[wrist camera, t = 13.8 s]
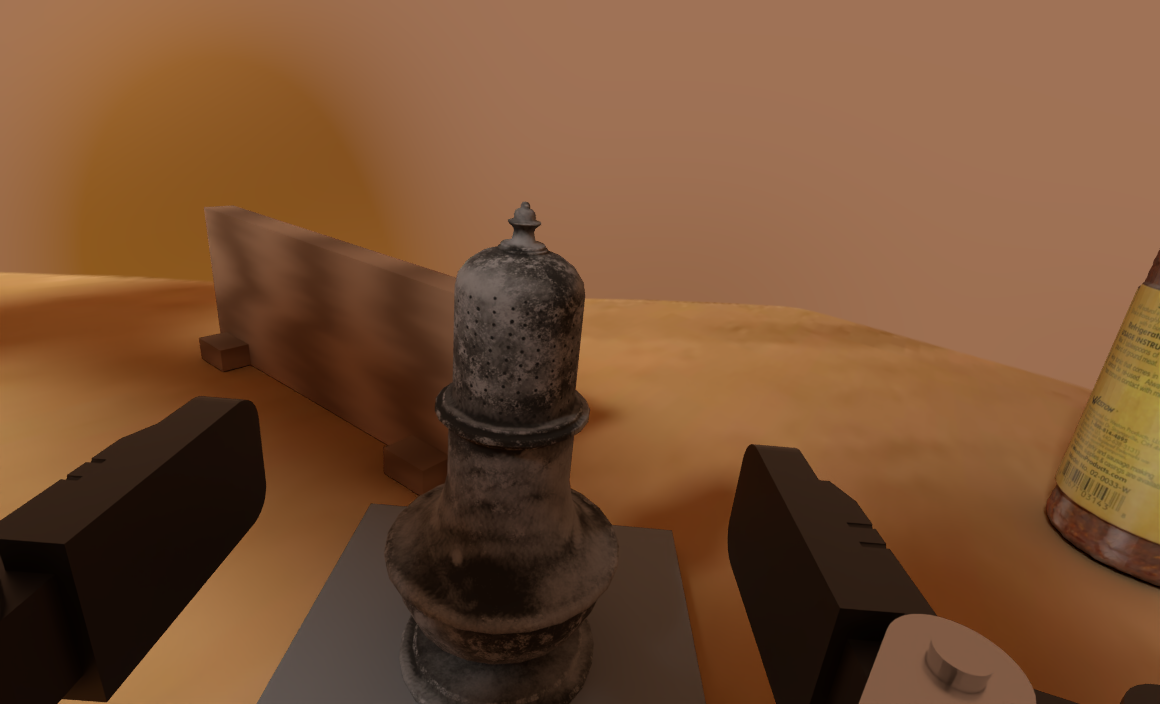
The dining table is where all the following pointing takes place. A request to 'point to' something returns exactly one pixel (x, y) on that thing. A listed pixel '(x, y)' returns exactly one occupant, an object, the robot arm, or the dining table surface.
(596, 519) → the dark metal turned piece
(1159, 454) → the sauce bottle
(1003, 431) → the dining table surface
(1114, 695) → the dining table surface
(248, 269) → the walnut screen
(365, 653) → the dark mat
